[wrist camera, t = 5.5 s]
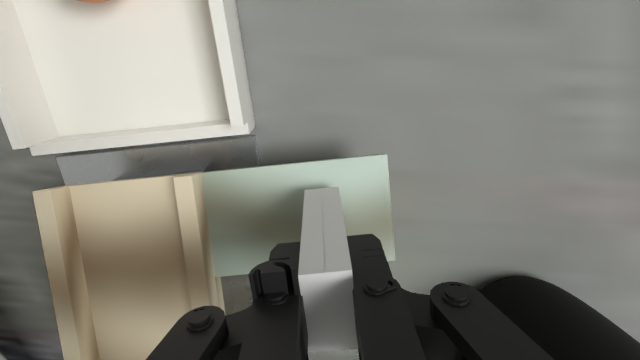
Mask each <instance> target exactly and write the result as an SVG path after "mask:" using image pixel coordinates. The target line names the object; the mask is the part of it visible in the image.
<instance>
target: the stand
mask: <svg viewBox="0 0 640 360" xmlns="http://www.w3.org/2000/svg"><path fill="white" fill-rule="evenodd" d="M56 160H57V163H58V166H59V169H60V171H61V174H62V177H63V180H64V183H65V186H66V185H76V184H86V183H96V182H106V181H116V180H126V179H136V178H146V177H156V176H166V175H176V174H186V173H196V172H206V171H216V170H226V169H236V168H246V167H256V166H260V161H259V155H258V149H257V143H256V137H255V135H250V136H240V137H231V138H221V139H211V140H201V141H192V142H182V143H172V144H162V145H152V146H143V147H133V148H123V149H113V150H103V151H94V152H84V153H74V154H64V155H61V156H58V157H56ZM221 285H222V292H223V299H224V307H225V314H226V315H230V314H233V313H236V312H239V311H241V310H244V309H246V308H248V307H249V306H251V305H252V302H253V297H252V292H251V287H250V282H249V276H248V274H243V275H232V276H222V277H221ZM62 360H64V358H63V359H62Z"/></svg>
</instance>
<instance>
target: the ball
mask: <svg viewBox="0 0 640 360" xmlns="http://www.w3.org/2000/svg"><path fill="white" fill-rule="evenodd" d="M77 1H81V2H86V3H103V2H107V1H110V0H77Z"/></svg>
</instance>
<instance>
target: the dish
mask: <svg viewBox="0 0 640 360" xmlns="http://www.w3.org/2000/svg"><path fill="white" fill-rule="evenodd" d="M0 117H1V120H2V122H3V125H4V128H5V130H6V133H7V135H8V138H9V141H10V143H11V146H12V148H13V150H14V149H23V148H28V147H29V148H30V151H31V154H32V156H37V155H46V154H56V153H66V152H76V151H85V150H95V149H105V148H115V147H125V146H134V145H144V144H154V143H164V142H173V141H183V140H193V139H203V138H213V137H222V136H232V135H242V134H250V132H251V131H252V130H253V129H254V127H255V119H254V113H253V107H252V101H251V94H250V88H249V82H248V76H247V69H246V63H245V57H244V51H243V44H242V38H241V32H240V26H239V19H238V13H237V7H236V1H235V0H110V1H107V2H103V3H86V2H81V1H77V0H0Z"/></svg>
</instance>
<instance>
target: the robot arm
mask: <svg viewBox="0 0 640 360" xmlns="http://www.w3.org/2000/svg"><path fill="white" fill-rule="evenodd" d="M248 276H249V282H250V287H251V292H252V297H253V302H252V305H251V306H249V307H248V308H246V309H244V310H241V311H239V312H236V313H233V314H230V315H226V316H225V313H224V311H223V310H222V309H221V308H220V307H217V306H212V305H211V306H202V307H198V308H195V309H193V310H191V311H189V312H187V313H186V314H184V315H183V316H182V317H181V318H180V319H179V320H178V321H177V322H176V323H175V325H174V326H173V327H172V328H171V329H170V331H169V332H168V333H167V334H166V335H165V337H164V338H163V339H162V340H161V342H160V343H159V344H158V345H157V346H156V348H155V349H154V350H153V351H152V352H151V354H150V355H149V356H148V357H147V358H146V360H308V349H309V353H312V352H324V351H335V350H346V349H358V350H359V360H554V359H553V358H552V357H551V356H550V355H549V354H547V353H546V352H545V351H544V350H543V349H542V348H541V347H540V346H539V345H538V344H536V343H535V342H534V341H533V340H532V339H531V338H530V337H529V336H528V335H526V334H525V333H524V332H523V331H522V330H521V329H520V328H519V327H518V326H516V325H515V324H514V323H513V322H512V321H511V320H510V319H509V318H508V317H507V316H505V315H504V314H503V313H502V312H501V311H500V310H499V309H498V308H497V307H495V306H494V305H493V304H492V303H491V302H490V301H489V300H488V299H487V298H486V297H484V296H483V295H482V294H481V293H480V292H479V291H478V290H476V289H474V288H473V287H471V286H469V285H466V284H463V283H458V282H445V283H441V284H438V285H436V286H435V287H434V288H433V289H432V290H431V292H430V295H423V294H416V293H411V292H409V291H406V290H404V289H402V288H401V286H400V285H399V283H398V282H397V280H395V279H393V277H392V274H391V271H390V268H389V265H388V262H387V259H386V256H385V253H384V250H383V247H382V244H381V241H380V239H378V238H377V237H376V236H375V235H373V234H362V235H352V236H346V229H345V223H344V217H343V211H342V205H341V199H340V193H339V187H329V188H319V189H309V190H305V192H304V205H303V218H302V231H301V241H300V242H289V243H279V244H277V245H276V246H275V247H274V248H273V249H272V250H271V251H270V256H269V261H265V262H263V263H261V264H258V265H257V266H255V267H254V268H253V269H251V271H250V273H249V274H248Z"/></svg>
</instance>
